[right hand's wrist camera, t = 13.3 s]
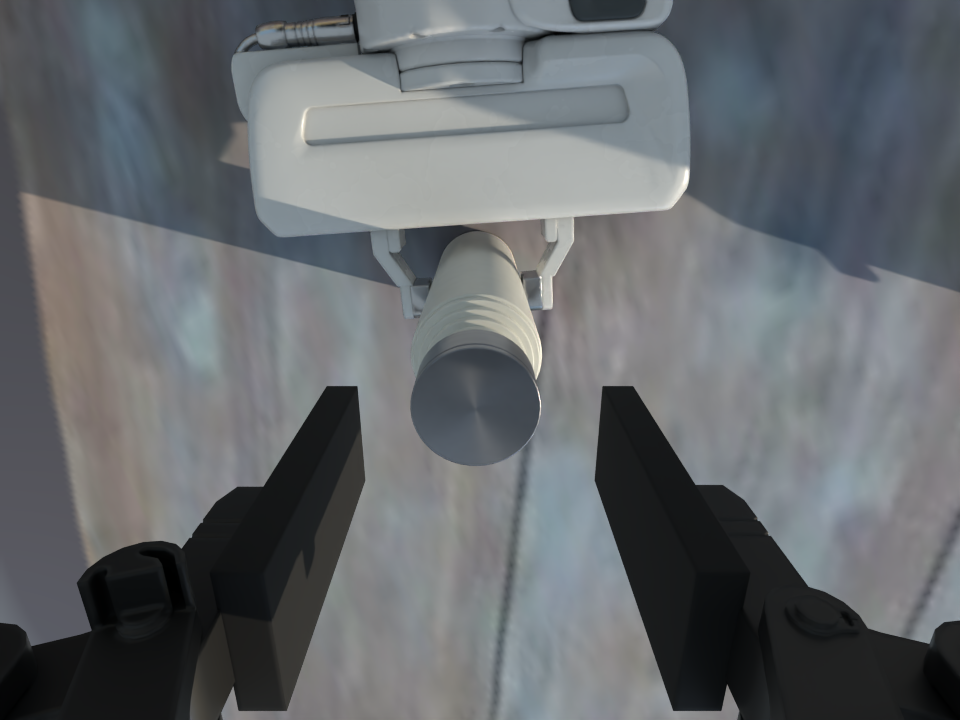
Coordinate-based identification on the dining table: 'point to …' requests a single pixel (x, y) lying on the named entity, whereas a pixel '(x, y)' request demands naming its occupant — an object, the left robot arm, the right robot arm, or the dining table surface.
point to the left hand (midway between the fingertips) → (479, 311)
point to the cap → (475, 398)
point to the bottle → (476, 298)
